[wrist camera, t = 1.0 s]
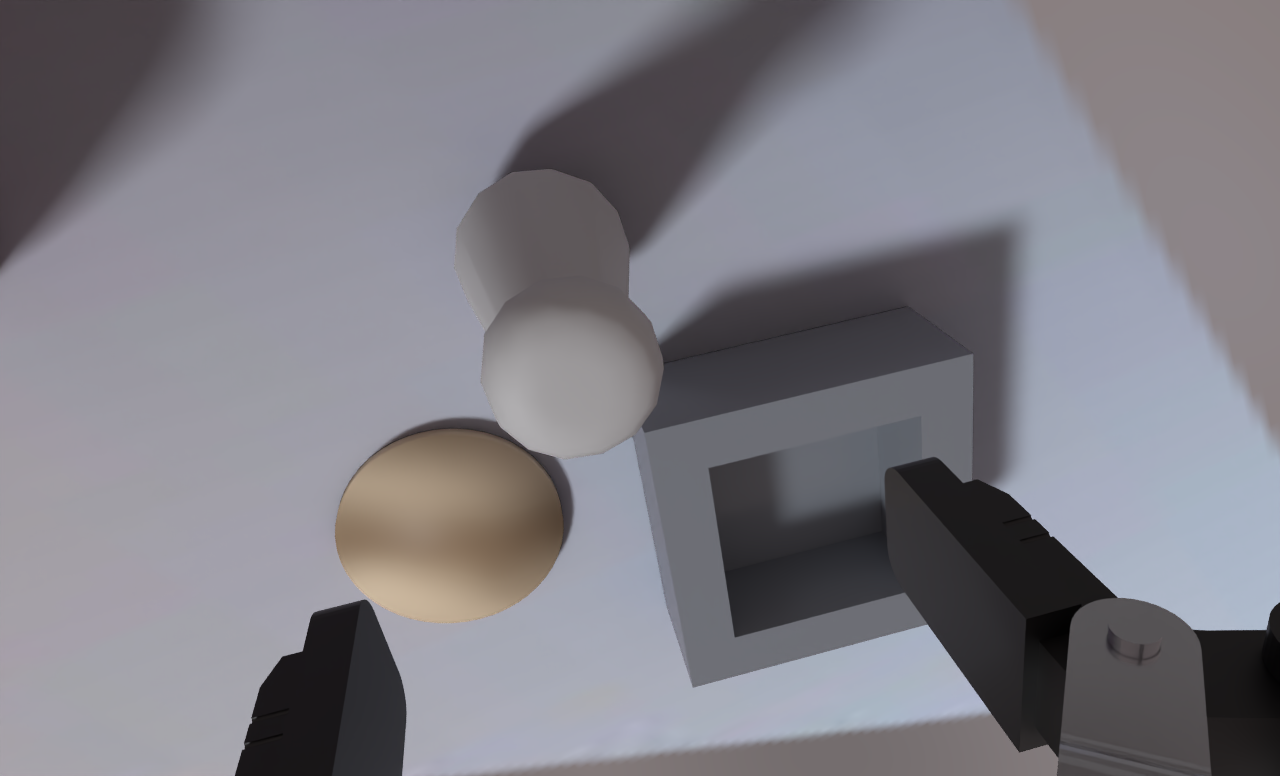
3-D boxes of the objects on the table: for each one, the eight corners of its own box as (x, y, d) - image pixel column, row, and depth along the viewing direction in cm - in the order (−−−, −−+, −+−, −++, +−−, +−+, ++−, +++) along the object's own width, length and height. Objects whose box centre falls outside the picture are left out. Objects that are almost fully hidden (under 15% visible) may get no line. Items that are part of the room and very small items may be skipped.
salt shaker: (564, 123, 29) (629, 214, 18) (645, 261, 32) (747, 417, 20) (420, 213, 30) (392, 359, 18) (512, 341, 32) (538, 541, 21)
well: (620, 373, 34) (644, 432, 29) (908, 306, 35) (973, 353, 30) (667, 607, 39) (692, 687, 35) (914, 542, 40) (971, 612, 36)
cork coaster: (304, 459, 33) (302, 467, 32) (536, 405, 34) (537, 412, 33) (376, 636, 37) (375, 645, 36) (581, 583, 38) (582, 592, 37)
